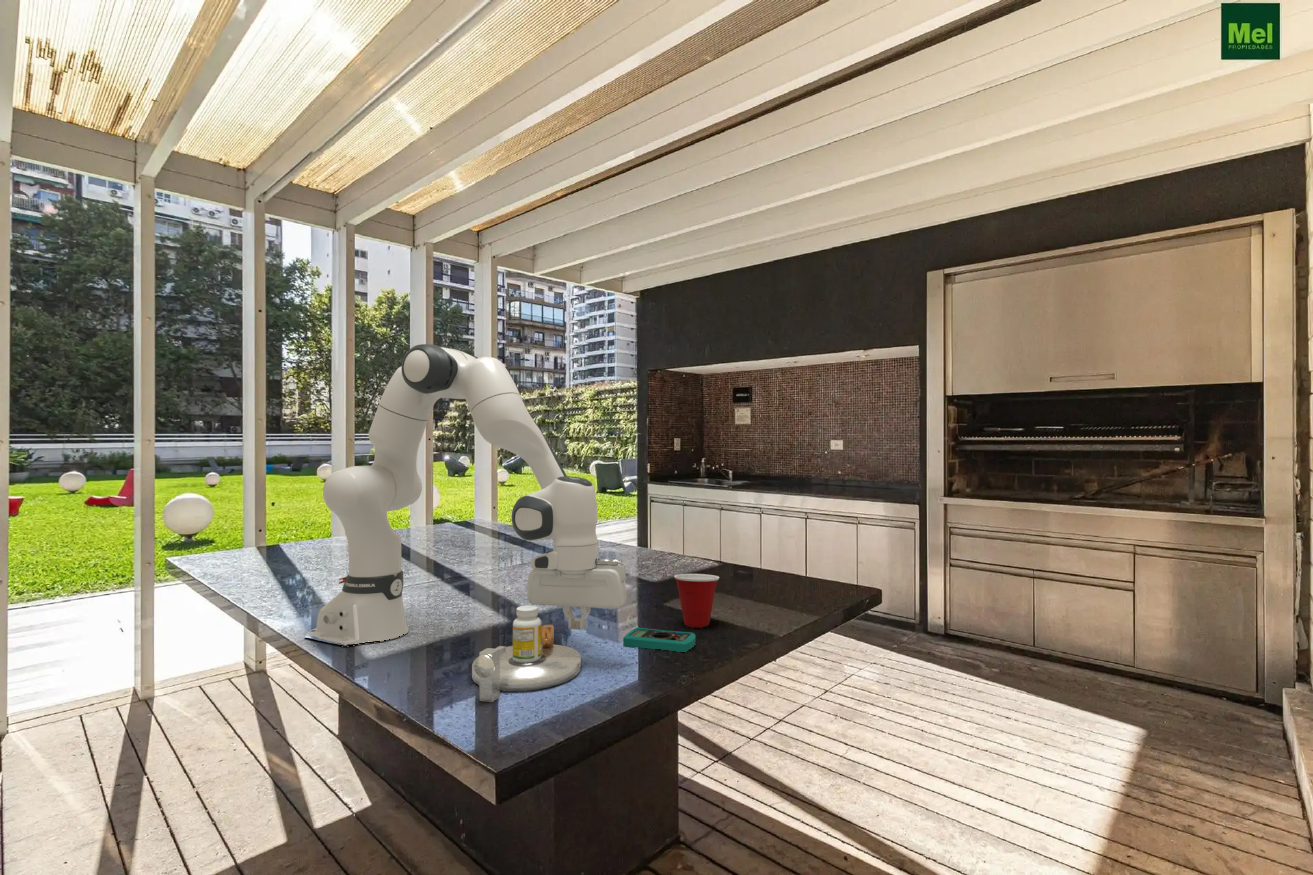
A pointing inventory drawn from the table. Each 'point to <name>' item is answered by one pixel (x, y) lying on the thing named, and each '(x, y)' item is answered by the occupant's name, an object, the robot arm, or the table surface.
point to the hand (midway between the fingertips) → (577, 628)
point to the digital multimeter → (659, 639)
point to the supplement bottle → (527, 635)
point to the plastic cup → (696, 597)
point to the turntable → (538, 666)
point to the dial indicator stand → (489, 672)
